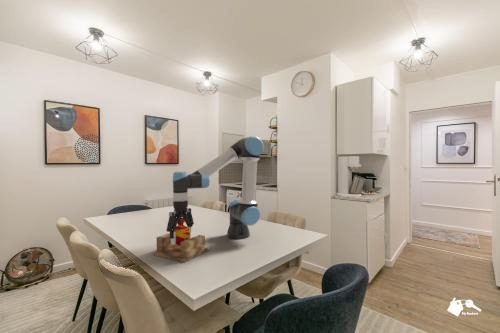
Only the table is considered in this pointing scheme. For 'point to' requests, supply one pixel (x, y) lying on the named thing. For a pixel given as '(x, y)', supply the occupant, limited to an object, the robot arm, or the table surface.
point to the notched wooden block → (186, 250)
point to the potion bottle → (181, 232)
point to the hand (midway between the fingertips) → (181, 241)
